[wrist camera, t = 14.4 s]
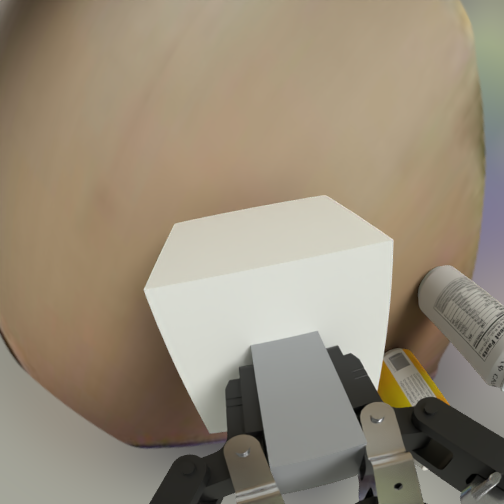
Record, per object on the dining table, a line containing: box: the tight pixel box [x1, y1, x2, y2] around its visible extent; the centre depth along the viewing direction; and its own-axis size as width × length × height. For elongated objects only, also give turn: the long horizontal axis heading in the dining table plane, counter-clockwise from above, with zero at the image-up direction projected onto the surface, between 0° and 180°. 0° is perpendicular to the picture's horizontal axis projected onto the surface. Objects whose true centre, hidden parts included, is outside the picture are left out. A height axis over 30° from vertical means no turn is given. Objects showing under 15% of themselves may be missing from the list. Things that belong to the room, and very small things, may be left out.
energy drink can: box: [418, 265, 504, 392], centre depth 21 cm, size 6×6×15 cm
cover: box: [144, 195, 393, 494], centre depth 14 cm, size 10×10×15 cm
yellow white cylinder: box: [377, 348, 449, 470], centre depth 25 cm, size 6×6×15 cm
